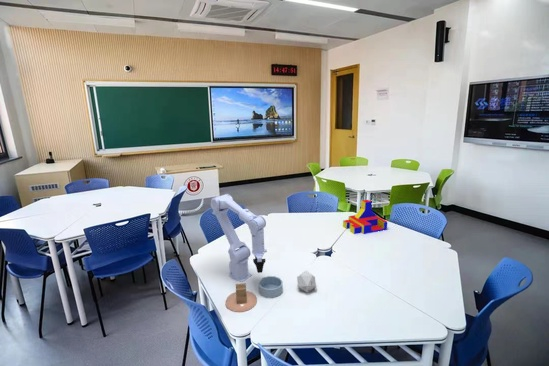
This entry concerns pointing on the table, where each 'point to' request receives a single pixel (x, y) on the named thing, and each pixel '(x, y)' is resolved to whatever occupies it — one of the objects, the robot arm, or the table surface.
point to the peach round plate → (251, 302)
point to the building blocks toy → (365, 220)
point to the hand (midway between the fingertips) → (259, 268)
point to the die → (306, 281)
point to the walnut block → (241, 293)
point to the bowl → (270, 286)
